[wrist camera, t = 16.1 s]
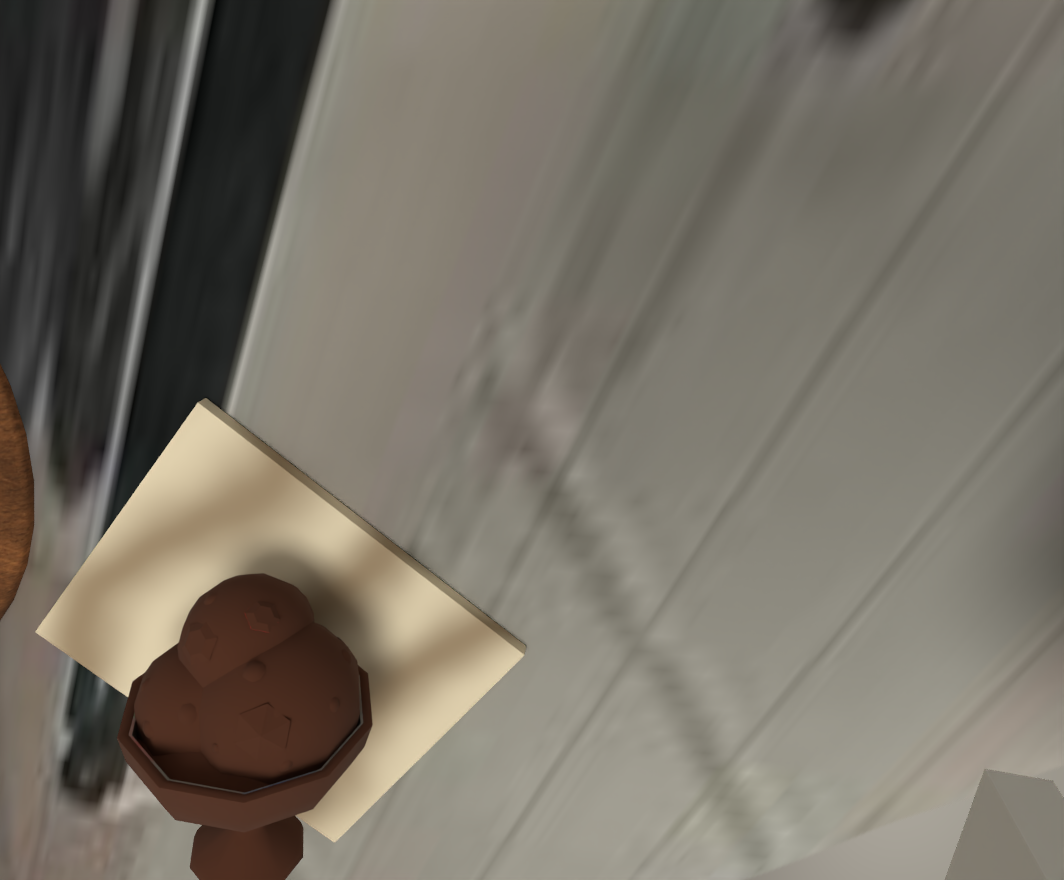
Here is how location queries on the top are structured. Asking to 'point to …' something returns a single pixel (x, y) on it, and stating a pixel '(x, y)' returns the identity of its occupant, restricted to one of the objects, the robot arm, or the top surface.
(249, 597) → the chocolate ice cream sundae
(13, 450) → the cutting board
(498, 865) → the top surface
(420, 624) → the birch pad
